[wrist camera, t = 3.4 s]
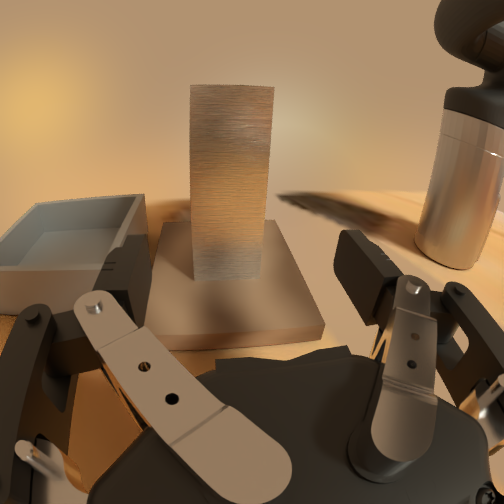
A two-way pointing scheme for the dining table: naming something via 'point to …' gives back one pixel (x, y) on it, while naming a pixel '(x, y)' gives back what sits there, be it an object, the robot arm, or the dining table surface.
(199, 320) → the stud block
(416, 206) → the dining table surface
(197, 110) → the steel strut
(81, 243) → the grey tray
